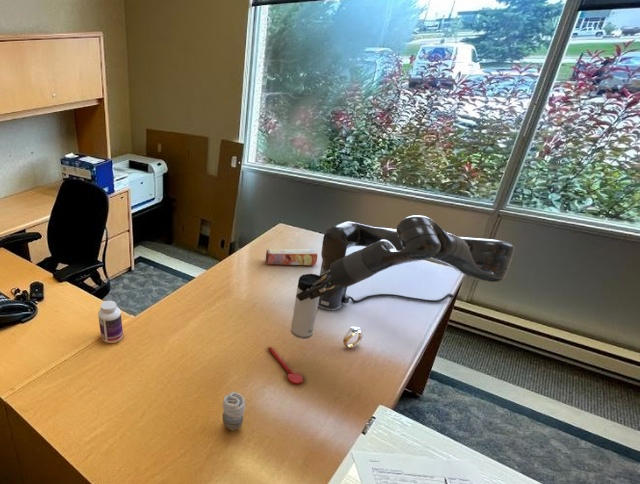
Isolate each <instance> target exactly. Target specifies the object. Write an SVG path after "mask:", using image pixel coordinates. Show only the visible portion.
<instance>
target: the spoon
mask: <svg viewBox="0 0 640 484" xmlns="http://www.w3.org/2000/svg"><path fill="white" fill-rule="evenodd" d="M268 351H269V352H270V353H271V355H273V357H274V358H275V359H276V360H277V361H278V363H279V364H280V365H281V366H282V367H283V368H284V370H285V371H286V372H287V373H288V375H287V381H288V383H291V384H293V385H295V386H296V385H297V386H299V385H302V384H303V382H304V377H303V375H301V374H300V373H298V372H293V371H292V369H291V368H290V367H289V366H288V365H287V363H285V361H284V360H283V359H282V358H281V356H280V355H279V354H278V353H277V352H276V351H275V350H274V349H273V347H271V346H269V347H268Z"/></svg>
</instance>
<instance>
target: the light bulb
mask: <svg viewBox="0 0 640 484" xmlns="http://www.w3.org/2000/svg"><path fill="white" fill-rule="evenodd" d="M245 407H246V401H245V398H244V396H243V395H242V394H240V393H239V392H236V391H232V392H230V393H229V394H226V395H225V396H224V398H223V401H222V410H223V413H222V423H223V425H224V426H225V428H227V429H228V430H231V431H235V430H239V429H240V428H241V427H242V426H243V421H244V414H245V410H246V408H245Z"/></svg>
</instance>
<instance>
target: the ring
mask: <svg viewBox="0 0 640 484" xmlns="http://www.w3.org/2000/svg"><path fill="white" fill-rule="evenodd" d="M356 335H358V336H357V339H356V341H354V342H353V343H350V344H348V342H349V340H351V338H353V337H354V336H356ZM363 338H364V331H363V330H361V327H358V326H357V327H356V326H351V327H350V328H349V329H348V330H347V332H346V333H345V335H344V337H343V340H342V344H343V346H344V347H345V348H347V349H353V348H355V347H356V346H357V345H359V344H360V342H361V341H362V340H363Z"/></svg>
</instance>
